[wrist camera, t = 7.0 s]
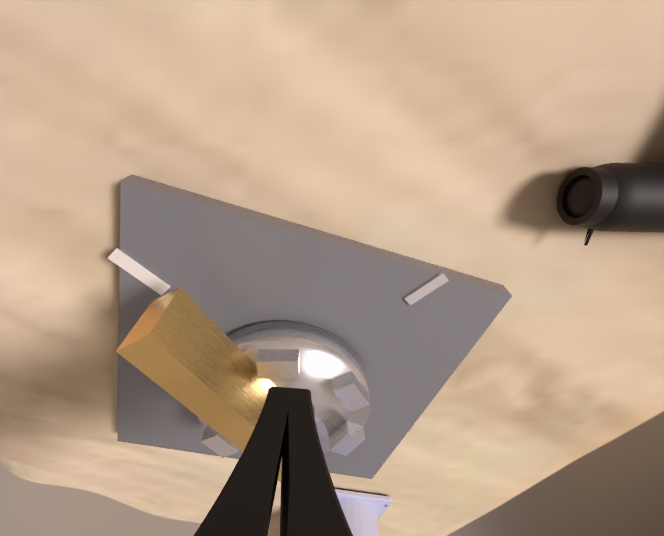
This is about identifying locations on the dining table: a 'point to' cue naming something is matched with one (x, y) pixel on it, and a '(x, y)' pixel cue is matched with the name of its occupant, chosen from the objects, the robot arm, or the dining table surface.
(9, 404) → the dining table surface
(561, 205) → the door handle
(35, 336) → the dining table surface
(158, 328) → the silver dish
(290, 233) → the nut board
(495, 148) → the dining table surface
